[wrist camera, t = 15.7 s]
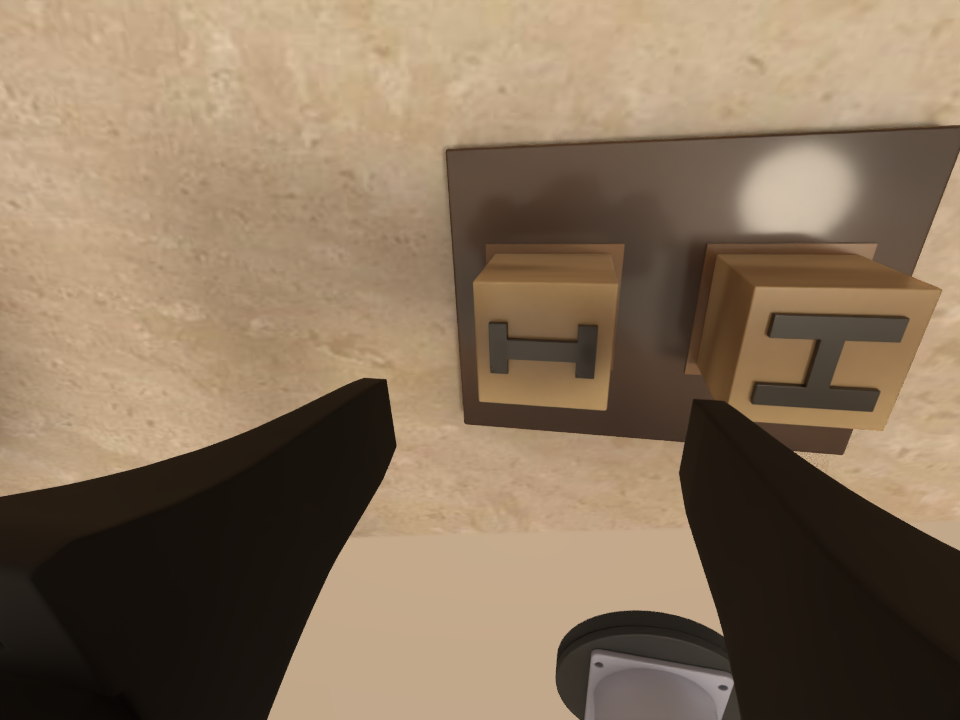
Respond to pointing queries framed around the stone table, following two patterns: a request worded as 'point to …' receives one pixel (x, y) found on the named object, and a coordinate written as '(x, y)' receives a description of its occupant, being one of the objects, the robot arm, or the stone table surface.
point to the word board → (684, 244)
